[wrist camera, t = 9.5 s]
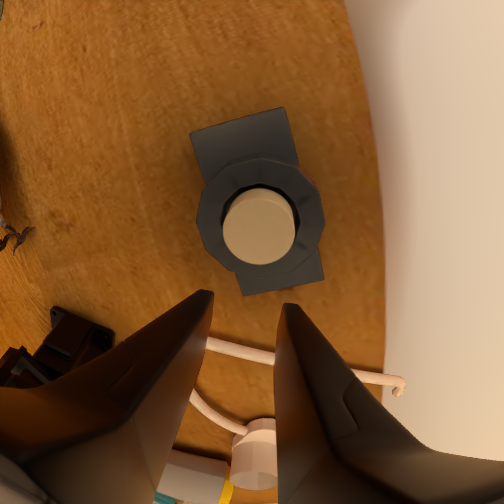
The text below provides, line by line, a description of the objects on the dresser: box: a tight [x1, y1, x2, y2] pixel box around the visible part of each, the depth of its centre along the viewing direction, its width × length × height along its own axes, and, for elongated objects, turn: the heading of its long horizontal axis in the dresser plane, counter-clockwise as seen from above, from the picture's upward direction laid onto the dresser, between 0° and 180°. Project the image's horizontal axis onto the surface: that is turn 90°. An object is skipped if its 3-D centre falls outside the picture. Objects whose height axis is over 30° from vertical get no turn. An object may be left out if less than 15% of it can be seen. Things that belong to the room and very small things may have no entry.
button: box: [223, 188, 295, 265], centre depth 15 cm, size 3×3×2 cm
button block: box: [189, 107, 325, 296], centre depth 17 cm, size 10×6×4 cm, turn 16°
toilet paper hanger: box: [189, 336, 406, 490], centre depth 25 cm, size 20×5×16 cm
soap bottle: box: [157, 449, 234, 504], centre depth 30 cm, size 7×7×18 cm
